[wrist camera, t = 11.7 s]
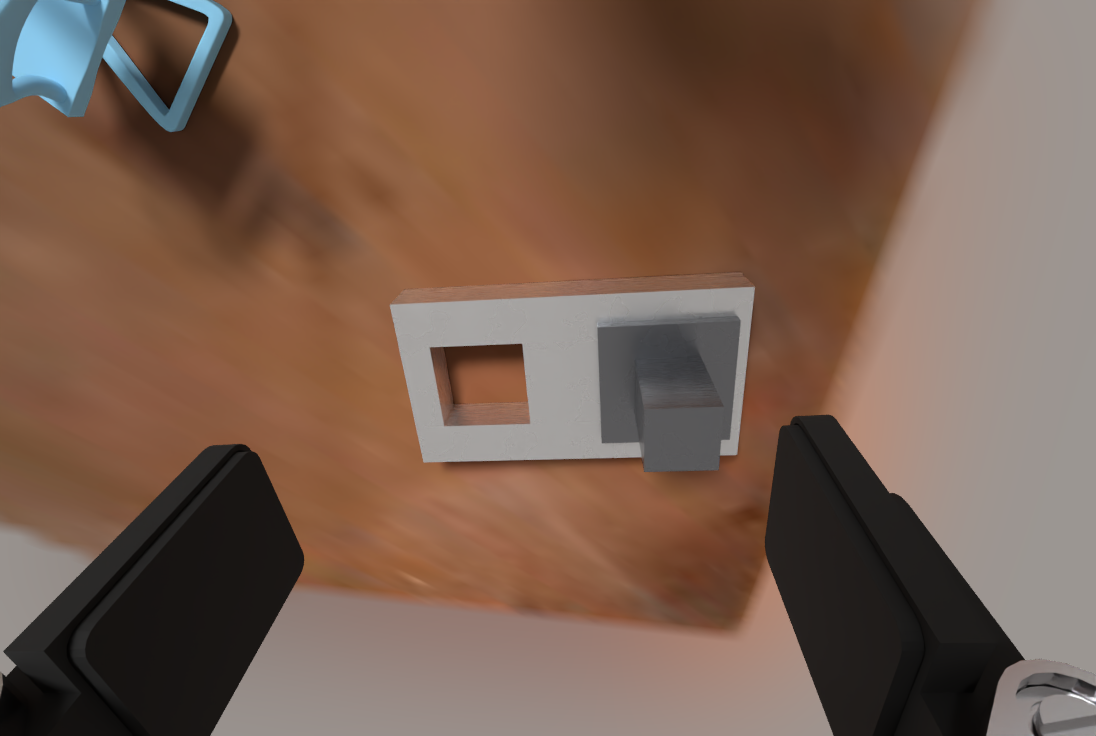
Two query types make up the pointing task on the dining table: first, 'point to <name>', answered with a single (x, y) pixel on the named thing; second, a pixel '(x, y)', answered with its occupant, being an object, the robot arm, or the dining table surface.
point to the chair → (92, 55)
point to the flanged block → (669, 388)
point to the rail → (545, 359)
